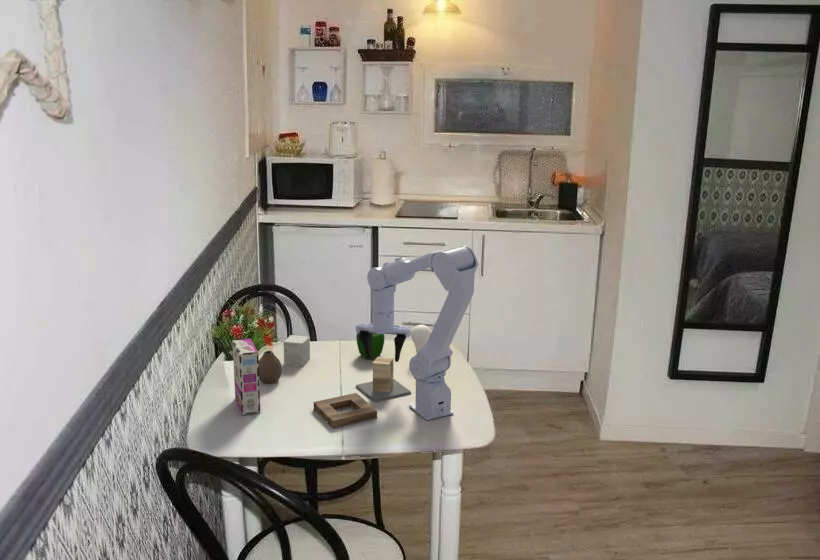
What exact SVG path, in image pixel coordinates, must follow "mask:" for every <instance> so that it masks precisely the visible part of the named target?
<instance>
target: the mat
mask: <svg viewBox="0 0 820 560" xmlns="http://www.w3.org/2000/svg"><path fill="white" fill-rule="evenodd" d="M355 387H356V388H357V390H360V392H362V394H364V395H365V396H366V397H368V399H370V400H371V401H373V403H376V401H377V402H380V401H386V400H389V399H394V398H399V397H403V396H407V395H412V391H410V389H408V388H407V387H405V385H403V384H402V383H400V382H399V381H397V380H396V379H395V378H393V387H392V389H391V390H390V392H381V391H373V380H372V381H369V382H368V381H367V382H364V383H359V384H356V385H355ZM402 395H403V396H402ZM398 396H399V397H398Z"/></svg>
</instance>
